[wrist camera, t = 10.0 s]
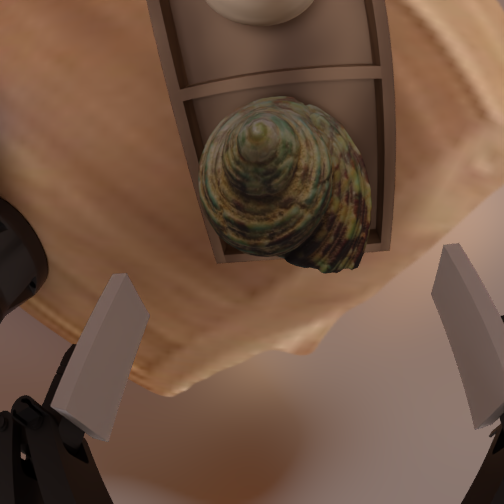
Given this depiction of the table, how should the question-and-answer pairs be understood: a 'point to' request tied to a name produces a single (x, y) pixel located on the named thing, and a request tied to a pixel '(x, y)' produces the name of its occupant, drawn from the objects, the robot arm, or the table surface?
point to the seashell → (287, 185)
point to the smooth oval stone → (259, 10)
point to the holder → (285, 84)
